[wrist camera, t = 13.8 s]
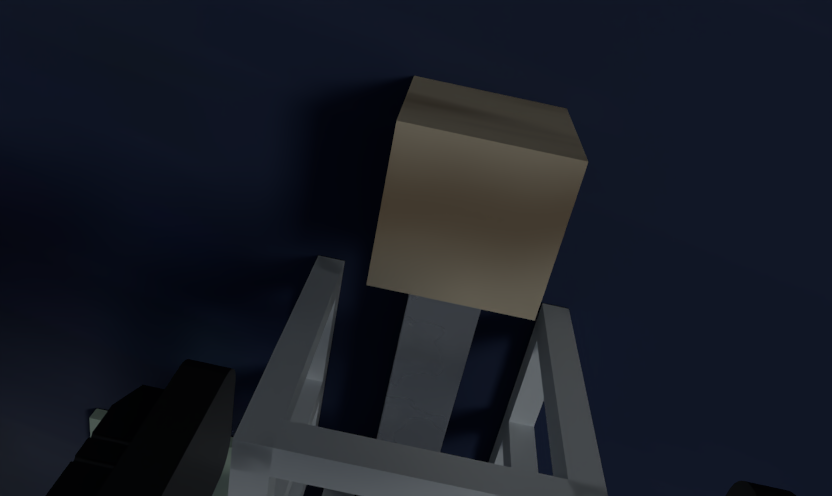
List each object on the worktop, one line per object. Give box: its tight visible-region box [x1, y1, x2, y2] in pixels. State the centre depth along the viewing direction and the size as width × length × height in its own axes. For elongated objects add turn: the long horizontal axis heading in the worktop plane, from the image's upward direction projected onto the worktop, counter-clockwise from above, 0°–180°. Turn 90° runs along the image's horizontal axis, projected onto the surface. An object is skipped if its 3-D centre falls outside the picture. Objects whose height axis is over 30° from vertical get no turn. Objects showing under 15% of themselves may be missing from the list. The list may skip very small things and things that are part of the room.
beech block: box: [366, 76, 588, 321], centre depth 20 cm, size 5×5×5 cm
